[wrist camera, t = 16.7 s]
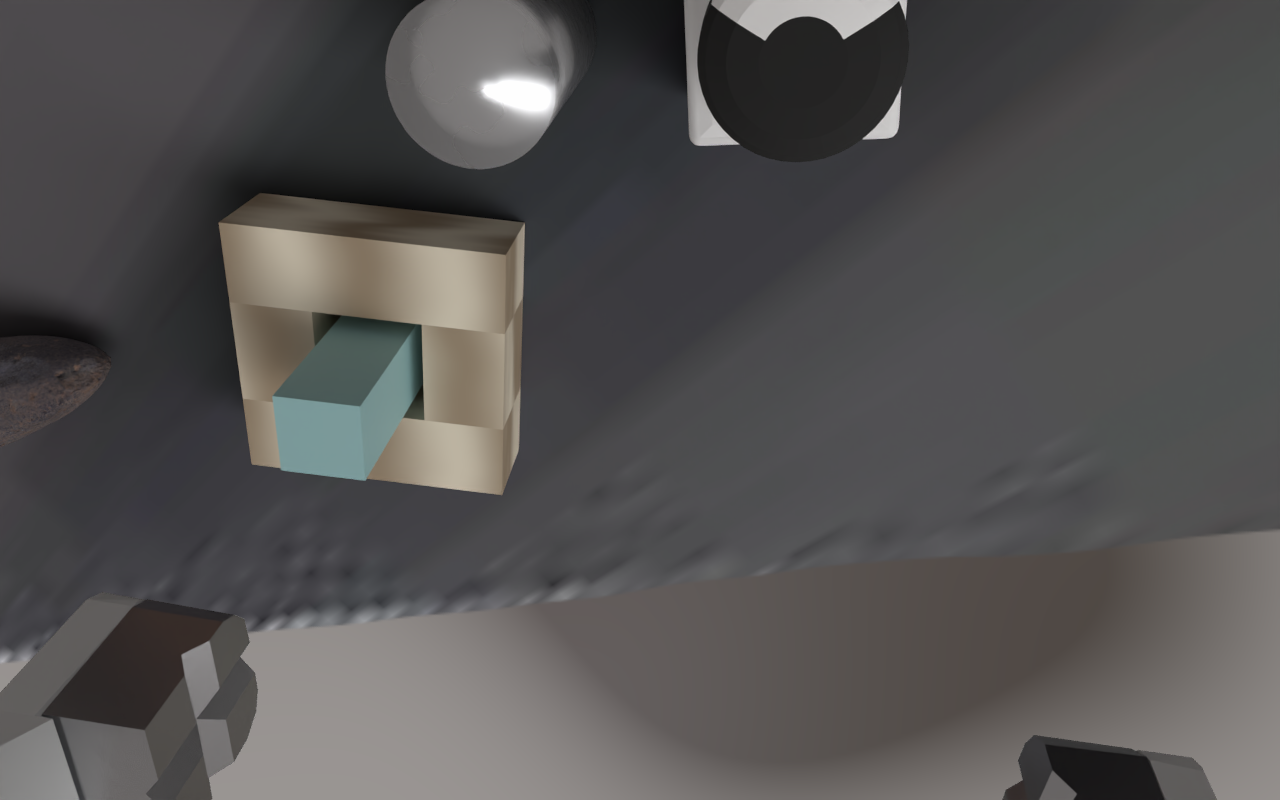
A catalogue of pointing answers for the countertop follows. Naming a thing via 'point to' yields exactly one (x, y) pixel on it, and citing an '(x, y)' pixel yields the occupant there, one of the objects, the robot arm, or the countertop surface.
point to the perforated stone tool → (45, 381)
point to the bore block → (393, 291)
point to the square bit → (348, 397)
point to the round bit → (486, 74)
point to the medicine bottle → (794, 74)
